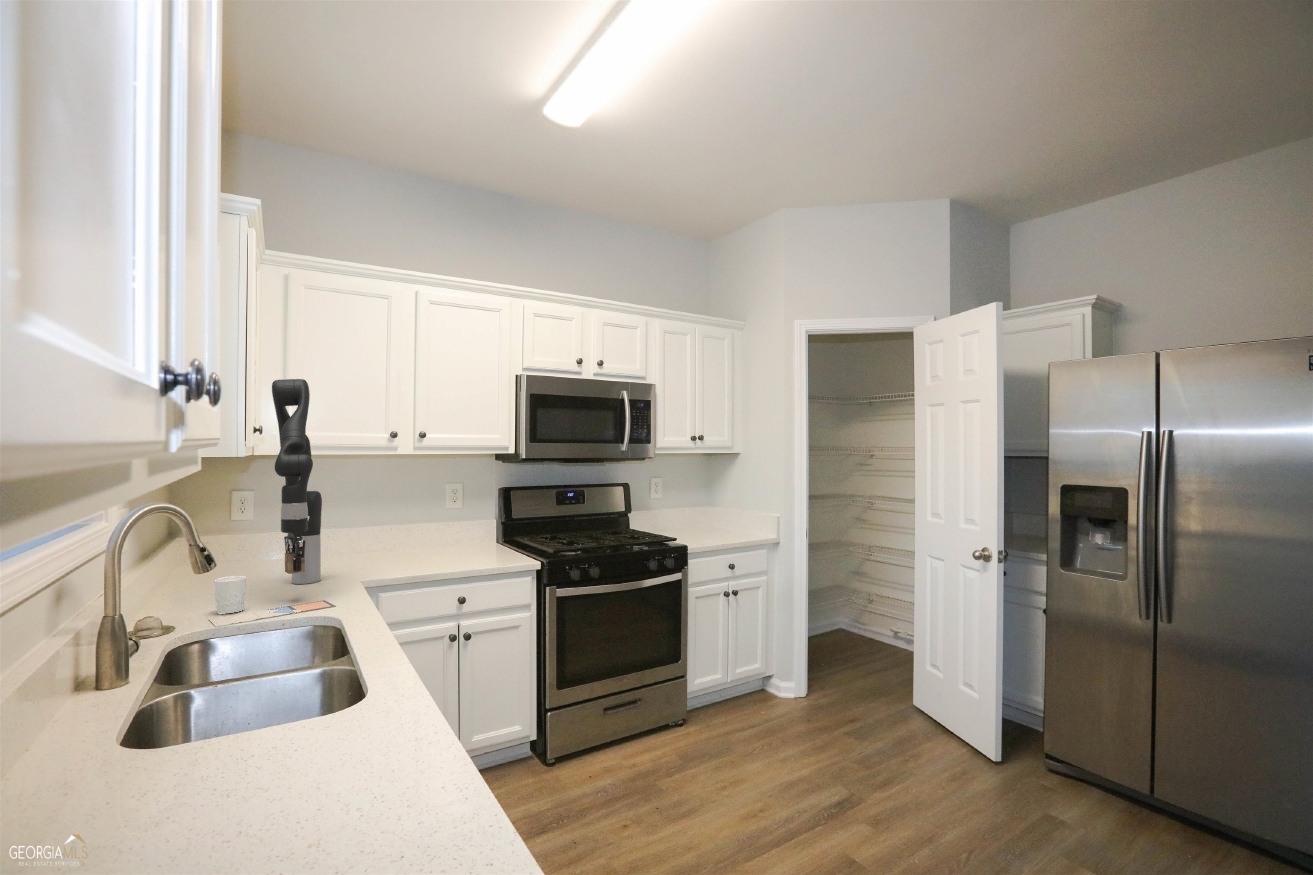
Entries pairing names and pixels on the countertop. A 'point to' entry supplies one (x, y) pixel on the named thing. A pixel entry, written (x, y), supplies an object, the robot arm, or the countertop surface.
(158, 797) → the countertop surface
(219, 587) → the white cup
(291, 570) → the walnut block
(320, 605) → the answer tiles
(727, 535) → the countertop surface
